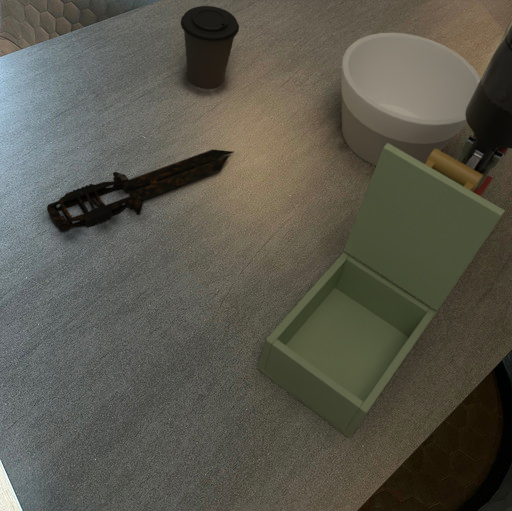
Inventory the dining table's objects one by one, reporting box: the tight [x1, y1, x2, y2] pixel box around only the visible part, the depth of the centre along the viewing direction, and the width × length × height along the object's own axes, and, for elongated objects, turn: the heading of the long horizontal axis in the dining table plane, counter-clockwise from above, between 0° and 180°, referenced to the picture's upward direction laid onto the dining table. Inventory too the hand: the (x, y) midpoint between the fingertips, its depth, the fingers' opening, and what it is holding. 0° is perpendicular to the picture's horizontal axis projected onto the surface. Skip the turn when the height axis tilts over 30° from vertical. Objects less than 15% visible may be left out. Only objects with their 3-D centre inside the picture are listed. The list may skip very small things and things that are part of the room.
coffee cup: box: [180, 5, 240, 90], centre depth 89 cm, size 8×8×10 cm
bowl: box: [340, 32, 482, 167], centre depth 86 cm, size 19×19×11 cm
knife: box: [46, 148, 234, 232], centre depth 78 cm, size 25×6×1 cm, turn 118°
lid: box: [343, 143, 505, 312], centre depth 61 cm, size 15×12×5 cm
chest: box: [257, 251, 438, 439], centre depth 65 cm, size 15×12×6 cm
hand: (453, 204), depth 74 cm, fingers closed on block, 4 cm apart
